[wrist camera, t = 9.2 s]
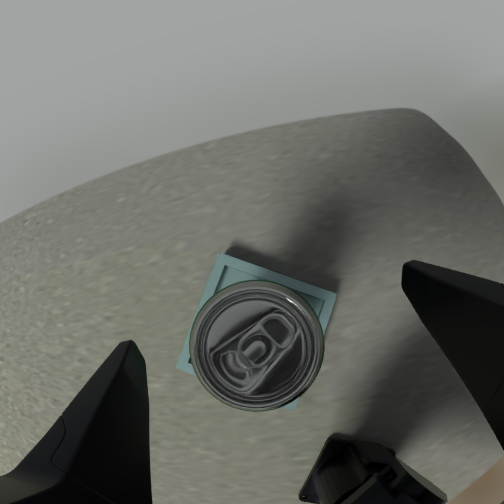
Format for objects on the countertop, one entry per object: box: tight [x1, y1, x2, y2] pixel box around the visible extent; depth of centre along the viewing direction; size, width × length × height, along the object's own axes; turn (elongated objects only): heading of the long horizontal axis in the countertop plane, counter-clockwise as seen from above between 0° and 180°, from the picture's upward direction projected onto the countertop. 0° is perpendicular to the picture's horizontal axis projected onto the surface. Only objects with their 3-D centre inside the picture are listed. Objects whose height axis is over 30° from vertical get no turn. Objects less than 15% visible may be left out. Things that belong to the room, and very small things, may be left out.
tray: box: [176, 252, 337, 411], centre depth 21 cm, size 9×9×2 cm
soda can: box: [189, 280, 325, 412], centre depth 16 cm, size 5×5×12 cm
